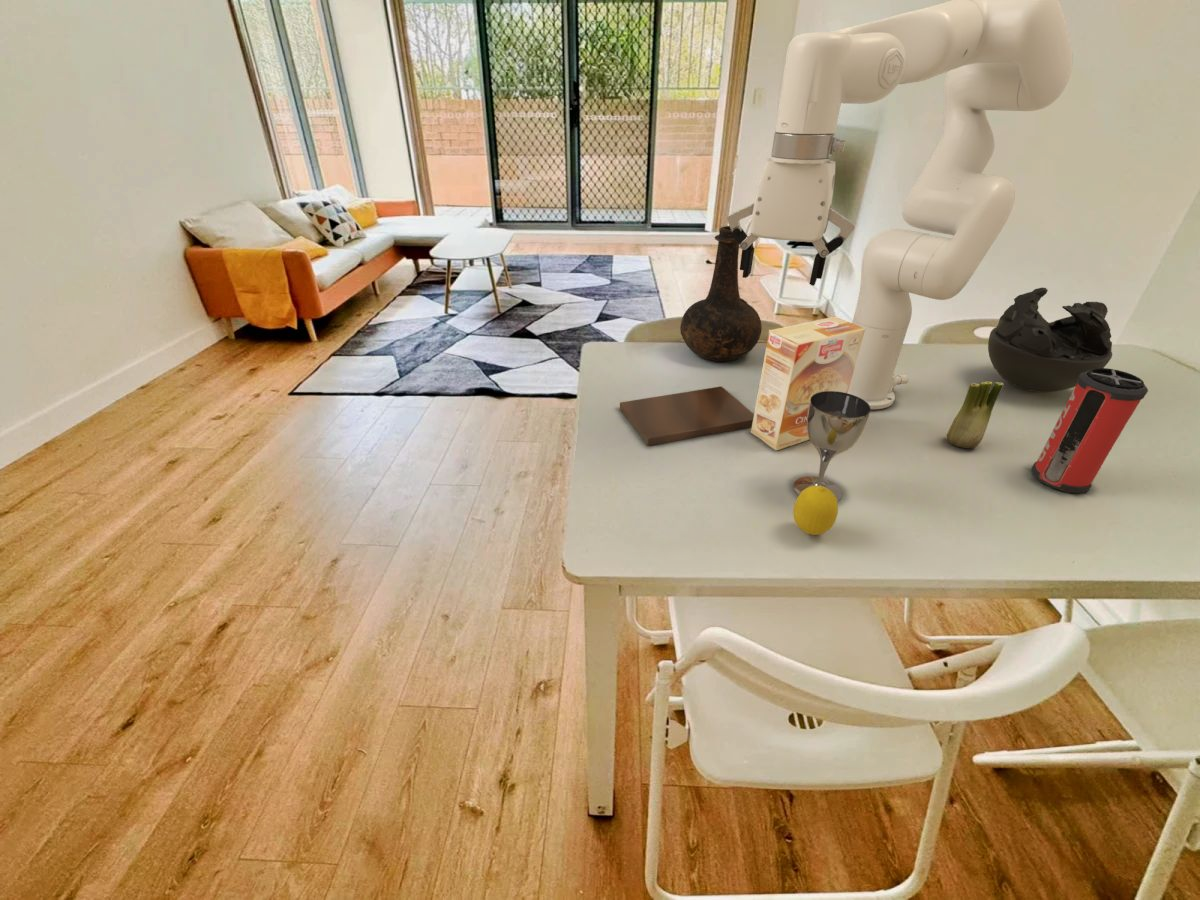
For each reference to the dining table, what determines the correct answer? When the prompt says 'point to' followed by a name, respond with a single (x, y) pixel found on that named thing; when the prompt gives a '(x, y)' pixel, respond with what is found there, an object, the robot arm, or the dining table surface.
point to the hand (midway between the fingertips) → (779, 279)
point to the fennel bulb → (974, 415)
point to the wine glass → (832, 432)
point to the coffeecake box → (802, 375)
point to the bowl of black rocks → (1049, 344)
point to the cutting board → (686, 415)
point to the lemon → (815, 510)
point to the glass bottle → (722, 311)
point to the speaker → (1088, 428)
